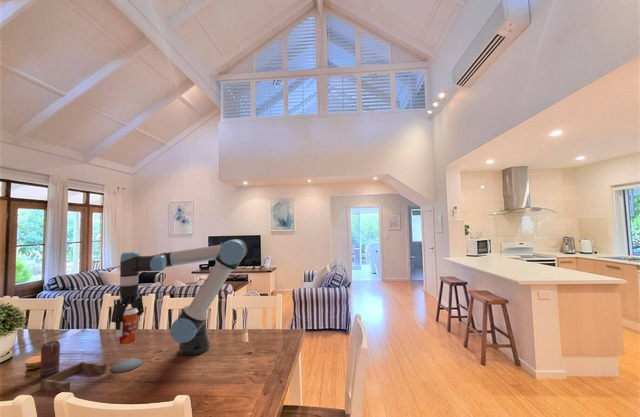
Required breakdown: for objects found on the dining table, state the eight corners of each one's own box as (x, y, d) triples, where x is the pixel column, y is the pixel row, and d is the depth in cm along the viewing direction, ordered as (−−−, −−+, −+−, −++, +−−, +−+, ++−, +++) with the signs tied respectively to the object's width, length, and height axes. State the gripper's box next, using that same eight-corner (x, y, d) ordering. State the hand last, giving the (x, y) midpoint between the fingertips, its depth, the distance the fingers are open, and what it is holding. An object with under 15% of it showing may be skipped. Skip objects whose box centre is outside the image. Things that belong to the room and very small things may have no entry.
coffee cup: (127, 346, 130) (128, 312, 131) (112, 344, 132) (113, 312, 133) (142, 338, 138) (142, 307, 139) (127, 337, 140) (128, 306, 141)
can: (42, 380, 123) (44, 347, 123) (38, 376, 126) (39, 344, 127) (61, 374, 128) (62, 342, 129) (56, 370, 131) (57, 339, 132)
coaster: (148, 361, 139) (148, 359, 139) (126, 373, 127) (126, 372, 127) (127, 359, 142) (127, 357, 142) (104, 371, 130) (104, 369, 130)
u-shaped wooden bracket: (106, 372, 129) (106, 364, 129) (66, 393, 113) (66, 384, 113) (82, 369, 132) (82, 361, 132) (40, 389, 116) (40, 380, 116)
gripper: (140, 280, 148) (139, 324, 147) (101, 289, 127) (99, 340, 126) (153, 280, 146) (152, 325, 145) (115, 289, 126) (113, 342, 124)
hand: (127, 332), depth 135 cm, fingers closed on coffee cup, 8 cm apart
